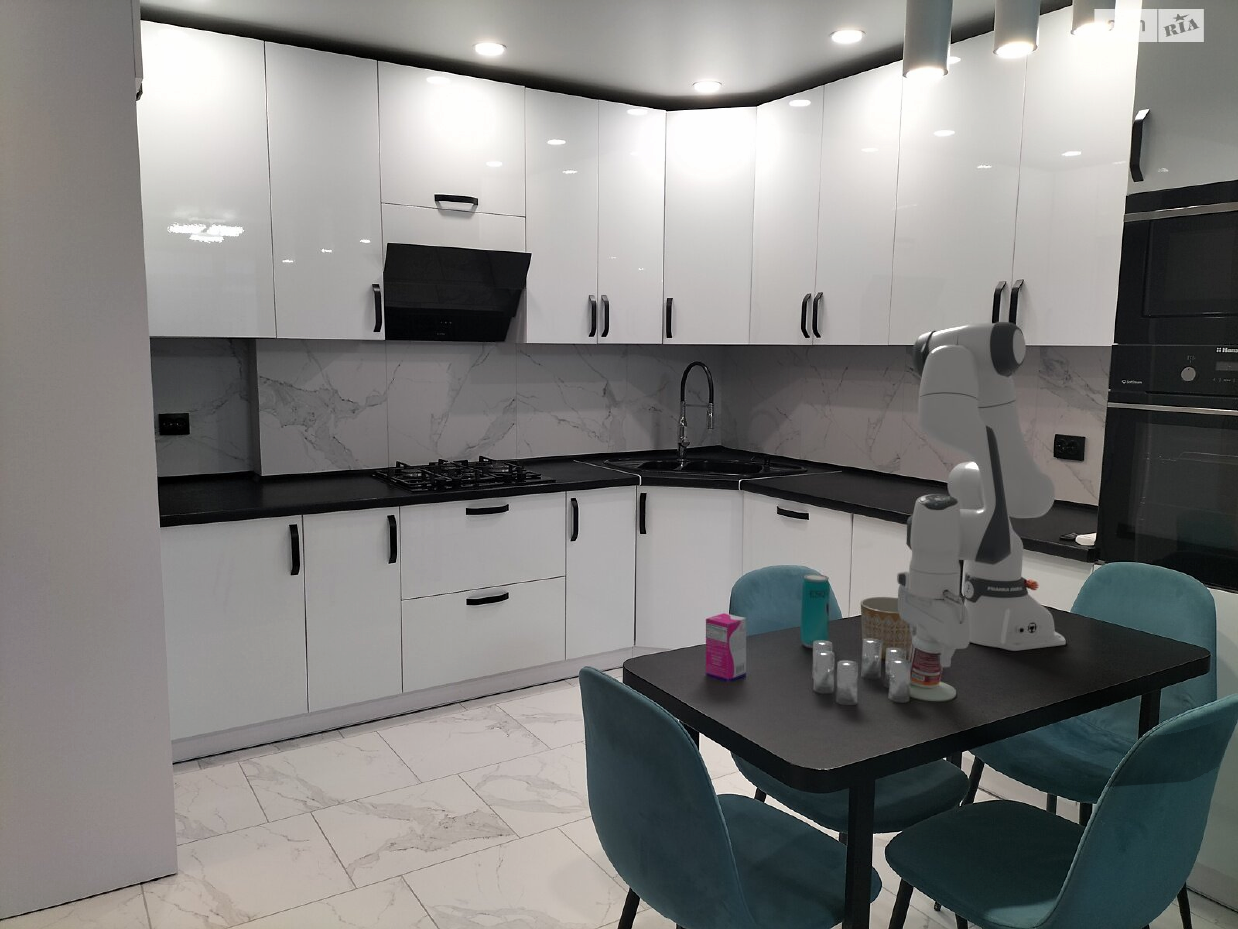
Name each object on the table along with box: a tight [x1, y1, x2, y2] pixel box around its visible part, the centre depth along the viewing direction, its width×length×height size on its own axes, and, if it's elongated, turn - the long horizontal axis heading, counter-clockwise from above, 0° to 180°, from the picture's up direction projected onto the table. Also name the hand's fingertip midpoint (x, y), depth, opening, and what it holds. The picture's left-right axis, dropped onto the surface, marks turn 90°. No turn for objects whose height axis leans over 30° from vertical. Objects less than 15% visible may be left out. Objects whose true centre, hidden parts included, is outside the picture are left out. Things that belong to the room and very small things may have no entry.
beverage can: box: [800, 573, 831, 649], centre depth 194 cm, size 6×6×15 cm
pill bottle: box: [908, 623, 944, 688], centre depth 168 cm, size 6×6×11 cm
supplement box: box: [705, 612, 747, 683], centre depth 175 cm, size 6×6×12 cm
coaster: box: [909, 681, 957, 702], centre depth 168 cm, size 10×10×1 cm
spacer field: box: [811, 638, 911, 706], centre depth 168 cm, size 18×16×7 cm
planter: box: [860, 596, 912, 660], centre depth 189 cm, size 13×13×10 cm
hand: (930, 657), depth 167 cm, fingers open, 8 cm apart
